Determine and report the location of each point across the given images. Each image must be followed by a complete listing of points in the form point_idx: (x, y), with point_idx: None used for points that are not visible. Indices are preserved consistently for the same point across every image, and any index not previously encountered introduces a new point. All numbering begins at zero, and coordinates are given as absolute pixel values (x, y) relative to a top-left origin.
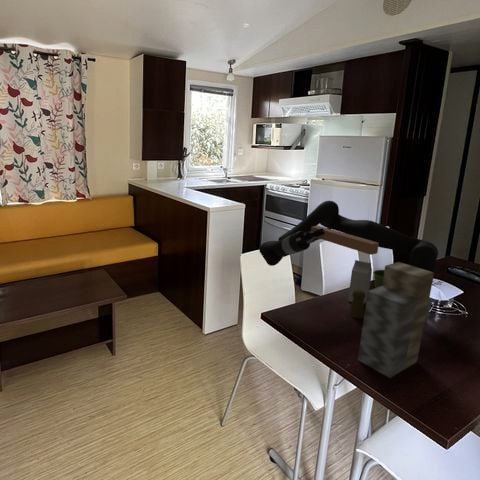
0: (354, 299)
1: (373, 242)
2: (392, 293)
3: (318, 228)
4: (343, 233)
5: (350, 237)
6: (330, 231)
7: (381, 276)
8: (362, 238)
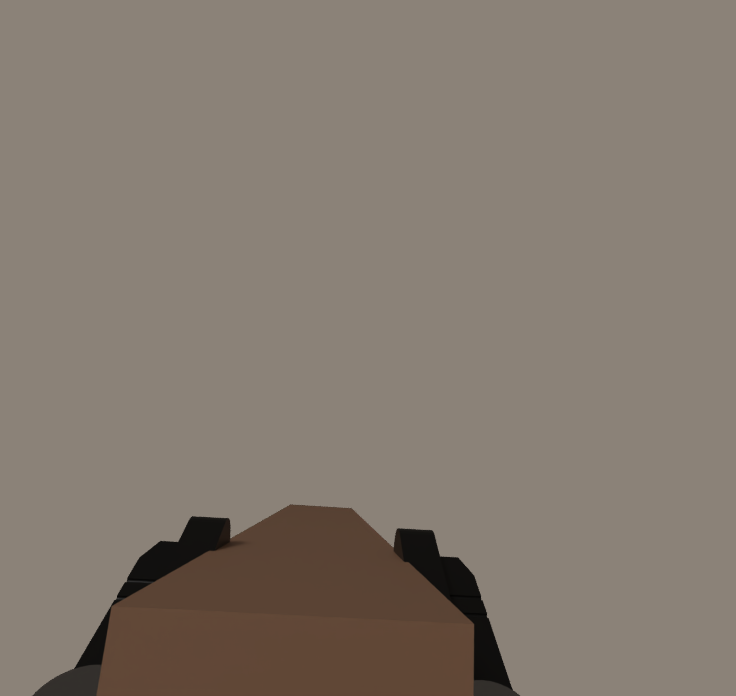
0: None
1: (312, 506)
2: None
3: (404, 570)
4: (285, 521)
5: (348, 517)
6: (351, 537)
7: None
8: (288, 509)
